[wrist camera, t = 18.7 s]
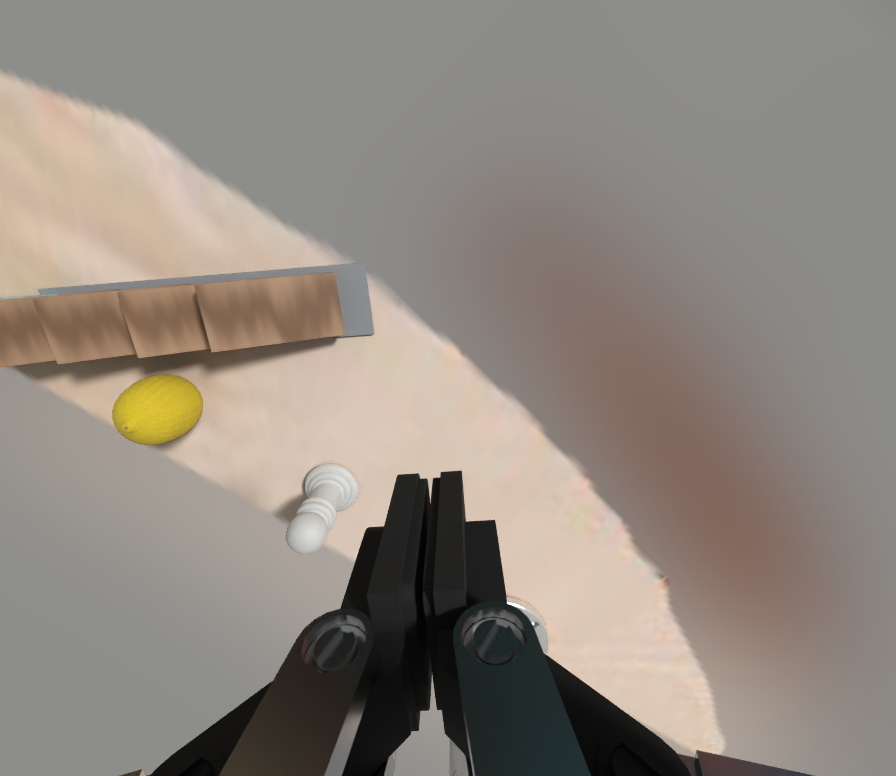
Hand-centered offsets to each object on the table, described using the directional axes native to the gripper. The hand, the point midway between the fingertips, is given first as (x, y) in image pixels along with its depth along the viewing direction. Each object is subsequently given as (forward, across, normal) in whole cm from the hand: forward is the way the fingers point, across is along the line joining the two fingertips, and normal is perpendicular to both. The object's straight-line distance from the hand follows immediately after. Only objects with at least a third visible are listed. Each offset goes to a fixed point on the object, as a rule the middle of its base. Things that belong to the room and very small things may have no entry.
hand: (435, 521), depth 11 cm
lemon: (+27, +25, +4) cm, 37 cm away
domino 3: (+26, +15, -3) cm, 30 cm away
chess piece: (+27, +13, +15) cm, 34 cm away
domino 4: (+26, +9, -3) cm, 27 cm away
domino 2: (+26, +21, -3) cm, 33 cm away
